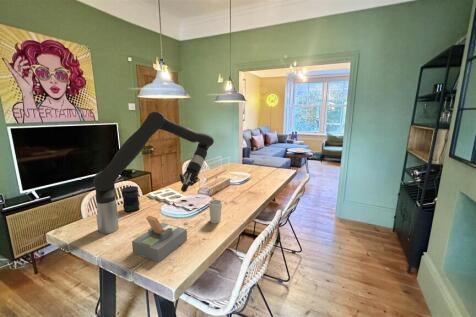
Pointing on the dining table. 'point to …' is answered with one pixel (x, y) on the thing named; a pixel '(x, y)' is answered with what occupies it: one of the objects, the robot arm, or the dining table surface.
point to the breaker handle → (155, 225)
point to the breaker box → (159, 242)
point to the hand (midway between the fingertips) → (183, 191)
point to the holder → (165, 192)
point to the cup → (215, 210)
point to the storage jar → (130, 199)
